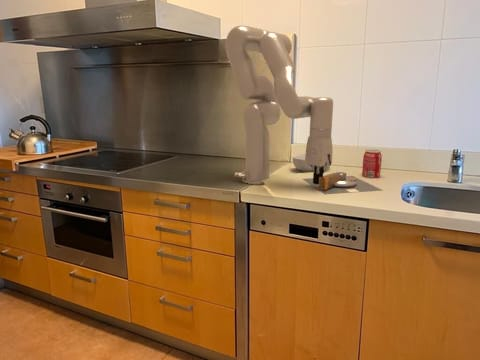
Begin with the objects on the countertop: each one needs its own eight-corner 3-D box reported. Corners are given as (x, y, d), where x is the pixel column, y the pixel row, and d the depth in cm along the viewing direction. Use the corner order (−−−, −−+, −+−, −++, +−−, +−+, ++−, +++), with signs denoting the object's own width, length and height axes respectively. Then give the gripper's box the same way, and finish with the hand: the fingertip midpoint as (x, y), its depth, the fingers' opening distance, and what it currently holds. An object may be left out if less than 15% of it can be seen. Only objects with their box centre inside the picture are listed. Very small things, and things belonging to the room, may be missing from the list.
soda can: (375, 177, 151) (378, 149, 148) (382, 181, 144) (385, 152, 141) (359, 177, 150) (361, 149, 147) (365, 182, 143) (367, 152, 140)
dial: (334, 177, 143) (335, 167, 142) (362, 182, 135) (363, 171, 134) (307, 186, 130) (308, 175, 129) (336, 192, 122) (337, 180, 121)
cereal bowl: (316, 166, 173) (317, 151, 172) (337, 173, 158) (338, 157, 156) (285, 169, 167) (286, 154, 166) (304, 177, 152) (305, 160, 151)
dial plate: (324, 198, 123) (324, 193, 122) (302, 182, 144) (302, 178, 143) (382, 194, 127) (383, 189, 126) (352, 179, 148) (352, 175, 147)
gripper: (299, 131, 131) (297, 180, 135) (325, 136, 118) (322, 190, 122) (315, 130, 134) (313, 177, 138) (343, 135, 121) (339, 187, 125)
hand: (317, 183), depth 130 cm, fingers closed
